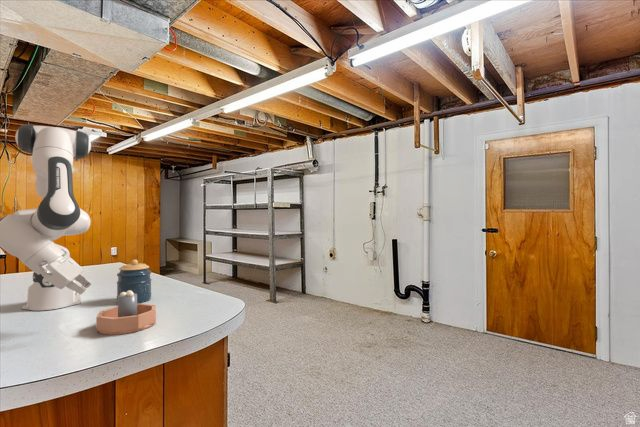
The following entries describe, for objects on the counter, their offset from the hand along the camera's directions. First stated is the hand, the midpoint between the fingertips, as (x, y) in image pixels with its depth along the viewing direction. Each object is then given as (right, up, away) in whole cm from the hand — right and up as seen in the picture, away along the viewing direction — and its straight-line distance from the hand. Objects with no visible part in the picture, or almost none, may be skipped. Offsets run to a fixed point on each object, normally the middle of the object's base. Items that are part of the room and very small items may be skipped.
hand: (86, 289), depth 104 cm
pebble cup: (+10, -12, +5) cm, 17 cm away
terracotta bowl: (+10, -13, +5) cm, 17 cm away
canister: (-6, -14, +37) cm, 40 cm away
